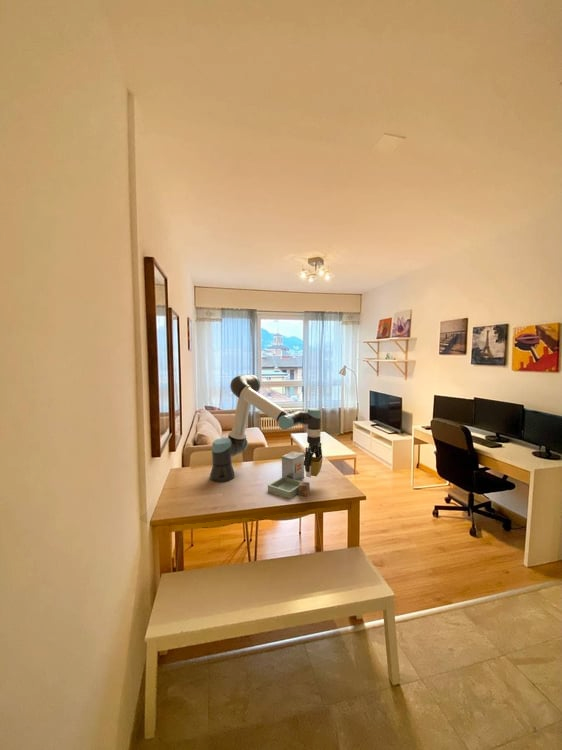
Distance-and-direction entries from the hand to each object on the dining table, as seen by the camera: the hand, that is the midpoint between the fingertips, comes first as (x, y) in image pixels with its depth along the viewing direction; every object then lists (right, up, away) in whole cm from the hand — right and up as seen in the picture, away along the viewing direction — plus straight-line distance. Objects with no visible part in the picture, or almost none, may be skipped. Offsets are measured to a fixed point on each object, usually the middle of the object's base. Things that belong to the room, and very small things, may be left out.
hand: (313, 474), depth 175 cm
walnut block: (-6, -8, -10) cm, 14 cm away
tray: (-15, -8, -4) cm, 18 cm away
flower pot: (0, 0, 0) cm, 1 cm away
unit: (-11, -7, +11) cm, 17 cm away
